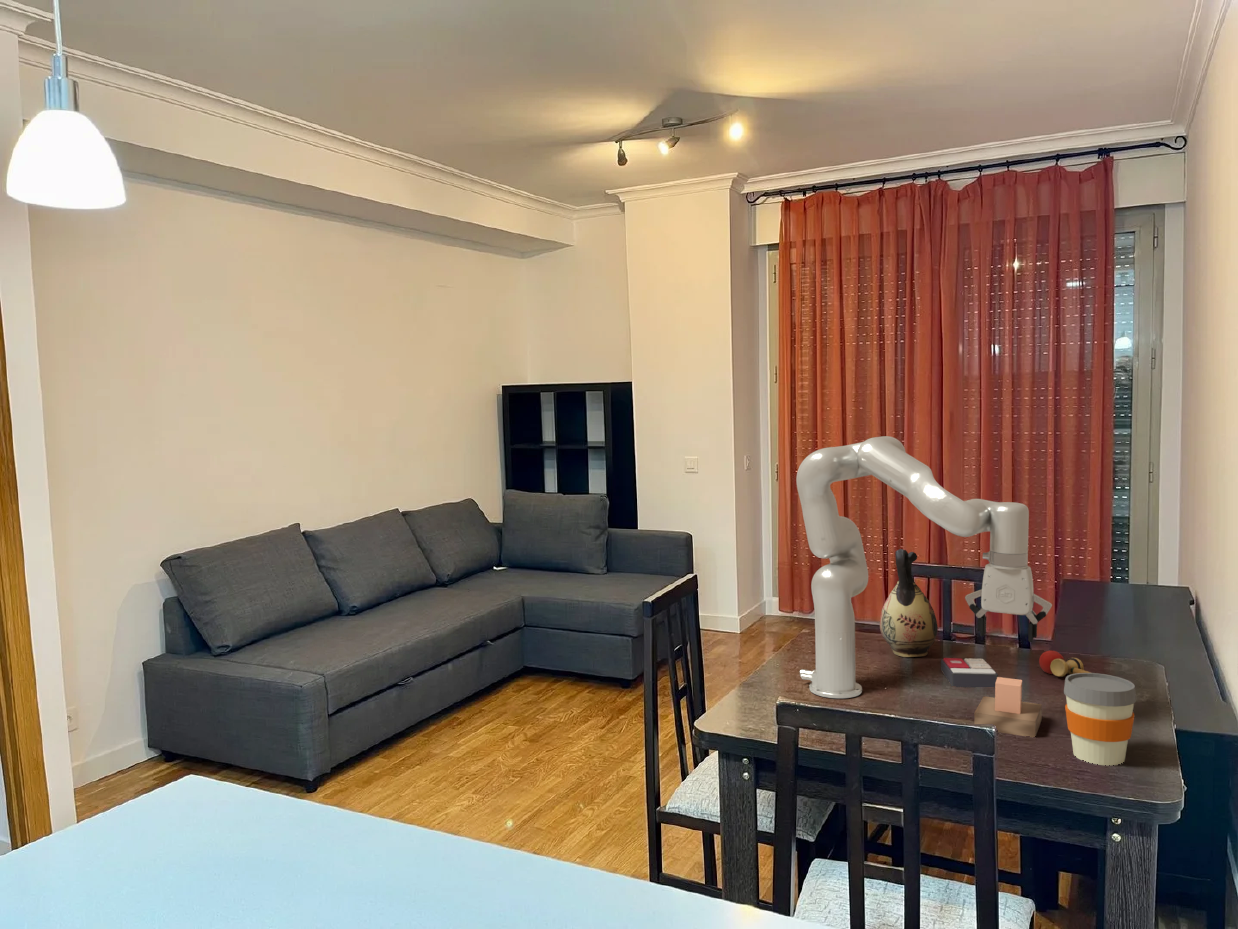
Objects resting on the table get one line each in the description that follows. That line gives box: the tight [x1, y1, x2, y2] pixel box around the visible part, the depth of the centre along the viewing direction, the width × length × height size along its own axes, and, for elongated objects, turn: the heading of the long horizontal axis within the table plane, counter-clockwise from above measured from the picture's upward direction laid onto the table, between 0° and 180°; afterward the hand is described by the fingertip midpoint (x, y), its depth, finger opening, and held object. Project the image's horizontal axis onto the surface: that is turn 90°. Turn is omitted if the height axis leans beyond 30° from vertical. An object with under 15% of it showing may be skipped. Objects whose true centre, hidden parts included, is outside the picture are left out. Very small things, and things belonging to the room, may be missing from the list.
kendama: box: [1038, 650, 1092, 678], centre depth 224 cm, size 8×6×18 cm
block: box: [994, 676, 1023, 714], centre depth 194 cm, size 5×5×6 cm
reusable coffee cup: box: [1063, 672, 1137, 767], centre depth 175 cm, size 13×13×15 cm
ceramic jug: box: [879, 548, 939, 658], centre depth 249 cm, size 17×15×30 cm
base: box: [973, 695, 1043, 738], centre depth 195 cm, size 12×12×4 cm
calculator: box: [940, 657, 999, 688], centre depth 227 cm, size 11×4×15 cm
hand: (1006, 637), depth 194 cm, fingers open, 9 cm apart
